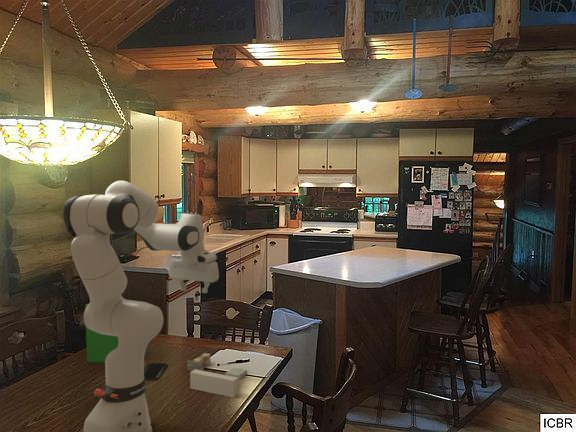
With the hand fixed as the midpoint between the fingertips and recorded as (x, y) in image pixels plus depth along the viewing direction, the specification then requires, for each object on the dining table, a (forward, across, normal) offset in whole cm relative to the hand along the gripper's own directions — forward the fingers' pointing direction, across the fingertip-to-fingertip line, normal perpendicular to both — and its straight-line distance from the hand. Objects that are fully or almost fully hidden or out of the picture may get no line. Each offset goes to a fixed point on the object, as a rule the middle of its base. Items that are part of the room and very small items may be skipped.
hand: (194, 291), depth 183 cm
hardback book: (+33, -42, 0) cm, 54 cm away
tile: (+34, +14, +6) cm, 37 cm away
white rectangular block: (+33, +13, -7) cm, 36 cm away
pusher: (+33, -3, +8) cm, 34 cm away
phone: (+33, -18, -4) cm, 38 cm away
